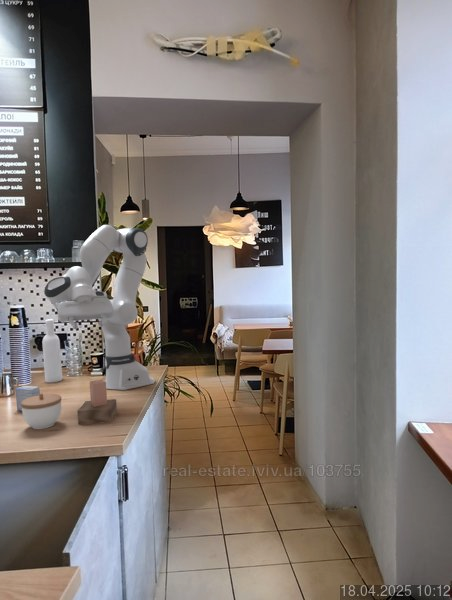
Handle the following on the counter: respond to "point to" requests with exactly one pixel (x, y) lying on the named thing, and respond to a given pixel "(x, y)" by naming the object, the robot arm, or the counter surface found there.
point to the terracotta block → (98, 393)
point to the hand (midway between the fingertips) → (88, 326)
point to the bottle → (51, 354)
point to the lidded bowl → (41, 410)
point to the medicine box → (25, 394)
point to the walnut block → (97, 412)
